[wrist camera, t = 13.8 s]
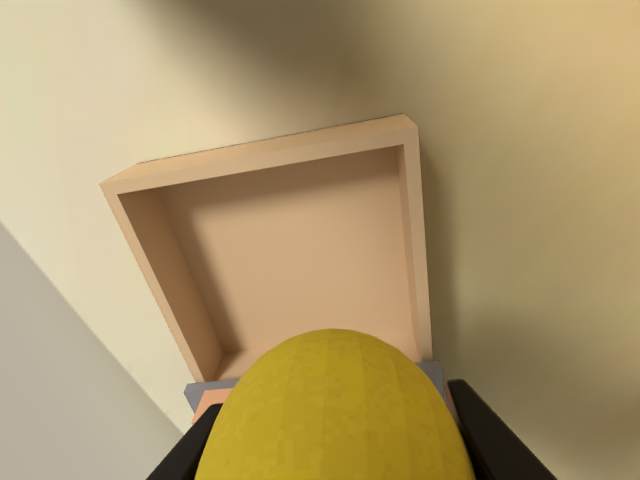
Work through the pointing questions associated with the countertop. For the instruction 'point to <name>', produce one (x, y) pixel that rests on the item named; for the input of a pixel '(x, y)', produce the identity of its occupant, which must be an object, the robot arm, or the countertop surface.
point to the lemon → (335, 417)
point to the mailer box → (282, 242)
